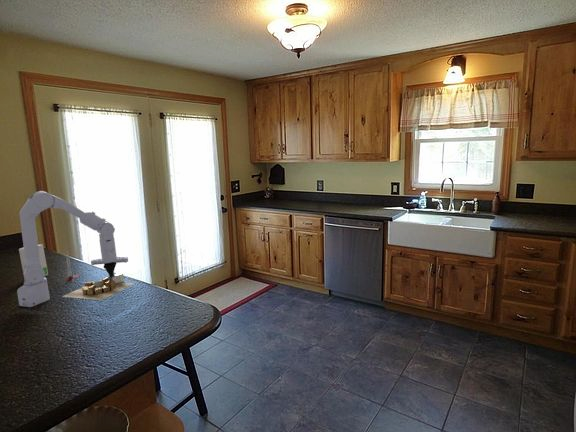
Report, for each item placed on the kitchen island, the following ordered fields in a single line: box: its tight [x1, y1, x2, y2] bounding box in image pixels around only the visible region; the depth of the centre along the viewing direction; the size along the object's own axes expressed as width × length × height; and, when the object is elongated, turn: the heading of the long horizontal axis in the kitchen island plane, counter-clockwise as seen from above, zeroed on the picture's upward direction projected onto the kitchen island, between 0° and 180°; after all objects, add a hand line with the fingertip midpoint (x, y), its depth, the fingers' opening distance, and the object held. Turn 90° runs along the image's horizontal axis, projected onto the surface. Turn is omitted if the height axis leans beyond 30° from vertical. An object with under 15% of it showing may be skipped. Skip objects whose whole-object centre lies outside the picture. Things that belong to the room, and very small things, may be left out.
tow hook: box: [65, 253, 79, 282], centre depth 166 cm, size 8×13×9 cm
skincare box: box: [18, 244, 49, 281], centre depth 170 cm, size 8×7×16 cm
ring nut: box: [81, 272, 125, 295], centre depth 150 cm, size 12×16×4 cm
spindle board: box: [62, 279, 135, 301], centre depth 148 cm, size 18×20×5 cm
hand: (112, 279), depth 156 cm, fingers closed, pressing on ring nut
